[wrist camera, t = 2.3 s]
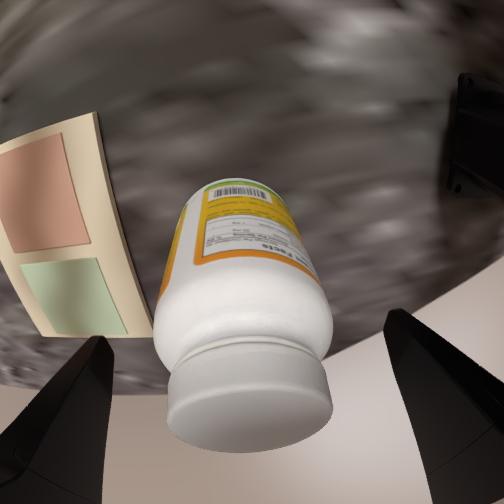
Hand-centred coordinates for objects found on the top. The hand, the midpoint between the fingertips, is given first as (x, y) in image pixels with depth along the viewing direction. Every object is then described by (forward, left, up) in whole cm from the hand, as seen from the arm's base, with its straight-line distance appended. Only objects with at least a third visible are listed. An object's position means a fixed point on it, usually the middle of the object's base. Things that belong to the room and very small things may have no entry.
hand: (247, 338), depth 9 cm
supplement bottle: (0, 0, -7) cm, 7 cm away
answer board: (+10, 0, -7) cm, 12 cm away
